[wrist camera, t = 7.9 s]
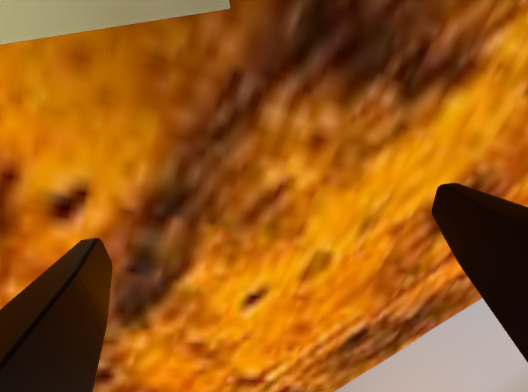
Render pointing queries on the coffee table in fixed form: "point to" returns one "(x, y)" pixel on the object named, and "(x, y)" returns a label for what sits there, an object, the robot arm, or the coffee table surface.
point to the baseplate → (89, 15)
